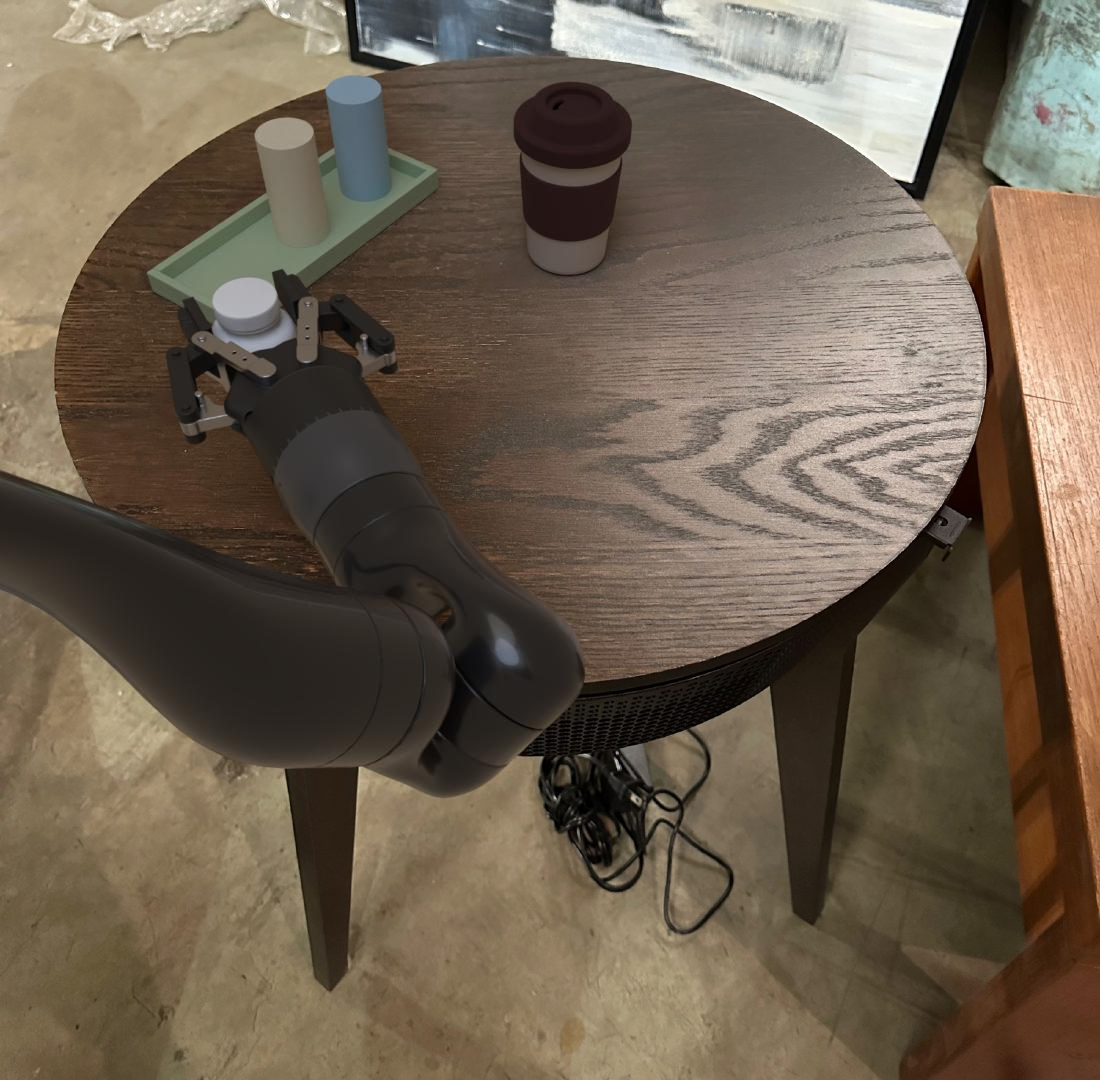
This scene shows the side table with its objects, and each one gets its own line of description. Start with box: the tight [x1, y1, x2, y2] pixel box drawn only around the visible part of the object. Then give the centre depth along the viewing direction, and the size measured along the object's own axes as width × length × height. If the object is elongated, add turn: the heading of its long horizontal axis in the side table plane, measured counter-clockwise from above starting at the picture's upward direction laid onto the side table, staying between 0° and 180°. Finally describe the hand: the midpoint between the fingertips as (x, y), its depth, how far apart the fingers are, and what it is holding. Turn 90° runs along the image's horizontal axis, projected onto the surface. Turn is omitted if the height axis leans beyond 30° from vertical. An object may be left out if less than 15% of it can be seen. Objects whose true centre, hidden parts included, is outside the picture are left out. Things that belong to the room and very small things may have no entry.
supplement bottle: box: [211, 278, 297, 395], centre depth 68 cm, size 5×5×10 cm
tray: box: [146, 147, 440, 325], centre depth 96 cm, size 28×11×2 cm, turn 146°
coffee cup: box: [513, 81, 633, 276], centre depth 90 cm, size 10×10×15 cm
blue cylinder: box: [325, 74, 392, 202], centre depth 97 cm, size 5×5×10 cm
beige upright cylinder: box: [254, 117, 330, 248], centre depth 92 cm, size 5×5×10 cm
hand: (235, 295), depth 66 cm, fingers closed on supplement bottle, 5 cm apart
